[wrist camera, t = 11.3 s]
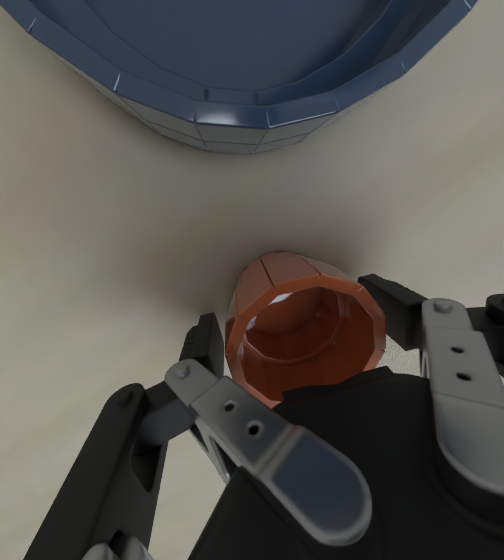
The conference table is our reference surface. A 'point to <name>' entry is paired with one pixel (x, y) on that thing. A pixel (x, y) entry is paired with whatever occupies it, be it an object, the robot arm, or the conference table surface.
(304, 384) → the small bowl
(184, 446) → the conference table surface
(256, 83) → the large bowl
